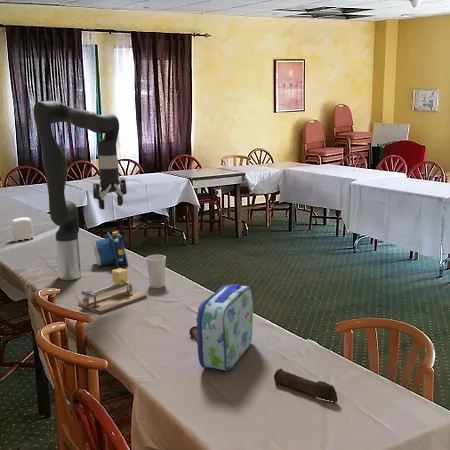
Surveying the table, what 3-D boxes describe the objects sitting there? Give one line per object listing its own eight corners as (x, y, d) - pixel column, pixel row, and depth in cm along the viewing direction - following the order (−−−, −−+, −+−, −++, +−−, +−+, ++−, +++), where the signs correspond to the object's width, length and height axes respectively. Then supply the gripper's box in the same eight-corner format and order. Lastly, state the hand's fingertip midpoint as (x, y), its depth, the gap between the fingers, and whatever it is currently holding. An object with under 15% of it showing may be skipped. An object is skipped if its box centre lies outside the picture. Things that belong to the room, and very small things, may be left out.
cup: (170, 283, 247) (169, 255, 244) (160, 289, 240) (159, 261, 237) (154, 281, 251) (152, 253, 248) (143, 287, 244) (142, 259, 241)
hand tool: (272, 384, 163) (272, 369, 162) (281, 379, 166) (281, 364, 165) (330, 409, 150) (331, 392, 149) (339, 402, 153) (339, 386, 152)
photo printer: (14, 242, 320) (12, 219, 317) (13, 240, 324) (10, 218, 321) (34, 239, 325) (31, 217, 322) (32, 237, 328) (30, 215, 326)
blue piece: (123, 257, 285) (117, 227, 281) (128, 265, 272) (122, 234, 267) (96, 264, 282) (89, 234, 278) (100, 273, 268) (92, 241, 264)
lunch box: (225, 336, 194) (223, 275, 189) (256, 340, 191) (256, 278, 186) (193, 372, 171) (190, 304, 166) (228, 378, 167) (226, 308, 162)
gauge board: (78, 305, 225) (77, 289, 224) (125, 289, 241) (124, 275, 240) (100, 314, 216) (99, 298, 215) (147, 297, 232) (146, 282, 230)
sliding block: (113, 291, 234) (111, 270, 232) (121, 288, 237) (120, 267, 235) (125, 295, 229) (124, 274, 227) (133, 293, 232) (132, 271, 230)
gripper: (117, 163, 239) (120, 203, 242) (87, 167, 229) (90, 209, 232) (129, 165, 234) (131, 205, 237) (98, 169, 224) (101, 211, 227)
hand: (111, 207), depth 235 cm, fingers open, 8 cm apart
